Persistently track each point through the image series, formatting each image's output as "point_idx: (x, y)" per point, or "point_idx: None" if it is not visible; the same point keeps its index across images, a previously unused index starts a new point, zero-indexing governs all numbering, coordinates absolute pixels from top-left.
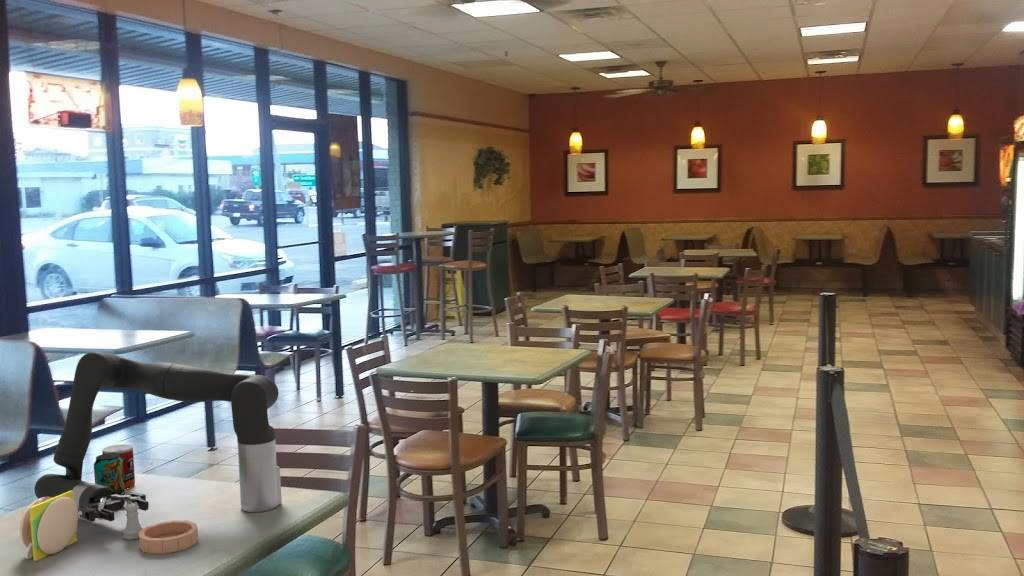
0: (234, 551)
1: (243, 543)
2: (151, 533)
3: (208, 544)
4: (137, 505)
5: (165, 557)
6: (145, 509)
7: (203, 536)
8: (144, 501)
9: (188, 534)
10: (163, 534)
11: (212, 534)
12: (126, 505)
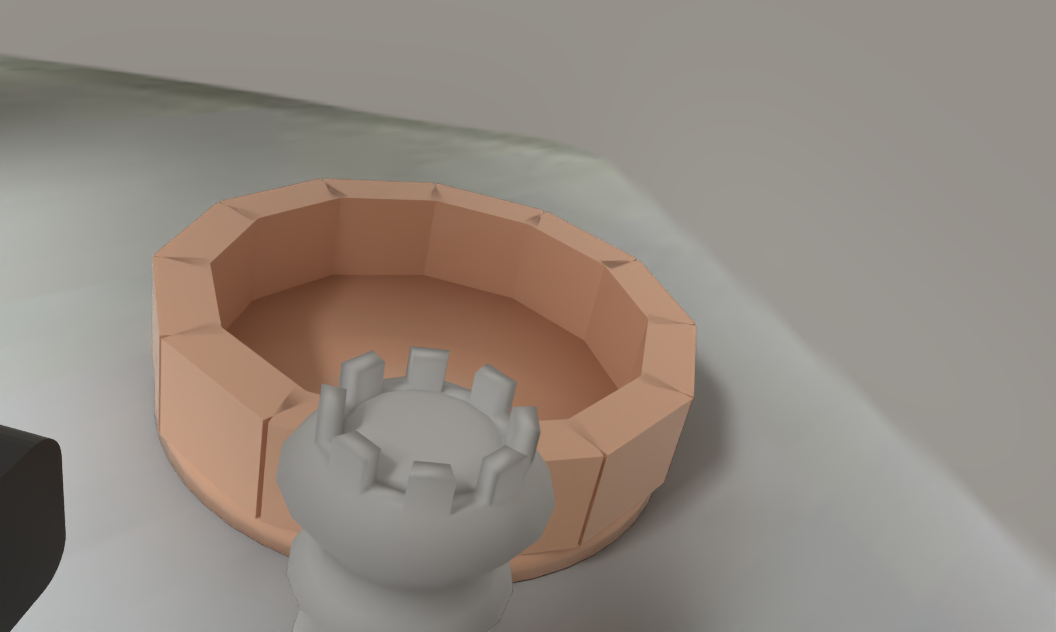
0: (402, 144)
1: (280, 136)
2: None
3: None
4: (376, 379)
5: None
6: (60, 546)
7: None
8: (16, 445)
9: (456, 192)
10: None
11: (142, 257)
12: (512, 464)
